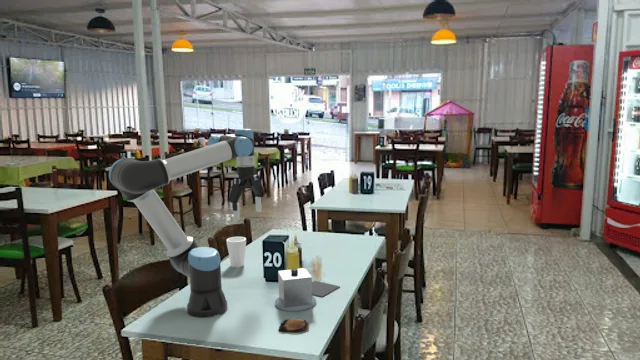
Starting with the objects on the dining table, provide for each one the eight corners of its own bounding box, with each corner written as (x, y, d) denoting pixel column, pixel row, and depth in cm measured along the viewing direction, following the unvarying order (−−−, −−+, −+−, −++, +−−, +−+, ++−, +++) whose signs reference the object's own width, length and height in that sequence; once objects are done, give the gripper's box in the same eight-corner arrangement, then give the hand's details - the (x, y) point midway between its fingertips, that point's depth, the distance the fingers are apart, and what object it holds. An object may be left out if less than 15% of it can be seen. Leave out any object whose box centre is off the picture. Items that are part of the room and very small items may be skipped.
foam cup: (249, 262, 252) (248, 236, 250) (244, 268, 242) (243, 242, 240) (230, 262, 253) (229, 236, 250) (225, 268, 243) (223, 241, 241)
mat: (322, 297, 205) (322, 296, 205) (296, 290, 212) (296, 290, 212) (339, 287, 215) (339, 286, 215) (315, 281, 223) (315, 280, 223)
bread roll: (309, 323, 182) (309, 314, 182) (308, 334, 174) (308, 324, 173) (280, 323, 183) (279, 314, 182) (277, 334, 174) (277, 324, 174)
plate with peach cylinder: (299, 315, 188) (298, 303, 188) (266, 305, 198) (266, 294, 197) (323, 300, 201) (323, 289, 201) (292, 292, 210) (291, 281, 210)
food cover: (312, 304, 195) (311, 272, 193) (284, 307, 193) (283, 276, 191) (305, 294, 206) (304, 264, 204) (279, 297, 203) (277, 267, 201)
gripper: (230, 169, 202) (233, 221, 205) (271, 162, 222) (273, 210, 225) (217, 168, 206) (220, 219, 210) (259, 161, 226) (261, 208, 230)
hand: (248, 214), depth 217 cm, fingers open, 13 cm apart
